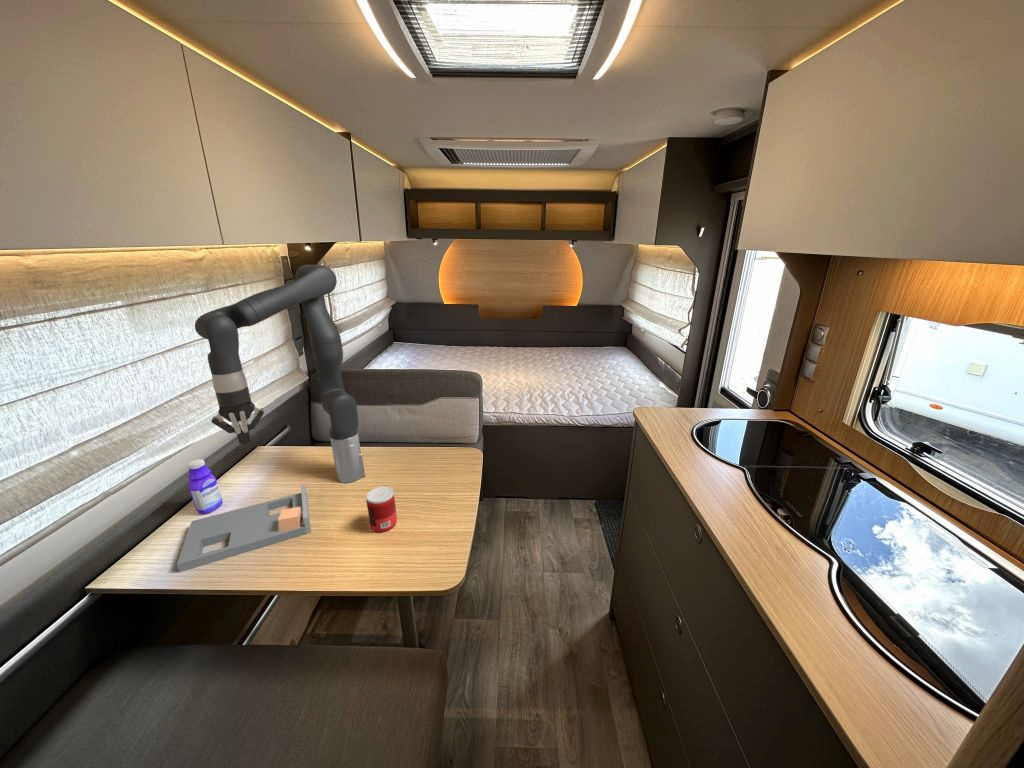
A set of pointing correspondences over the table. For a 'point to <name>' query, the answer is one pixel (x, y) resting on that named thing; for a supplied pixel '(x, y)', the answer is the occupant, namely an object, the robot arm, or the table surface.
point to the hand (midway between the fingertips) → (245, 443)
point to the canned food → (381, 509)
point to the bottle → (203, 487)
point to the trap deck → (241, 531)
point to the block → (290, 519)
